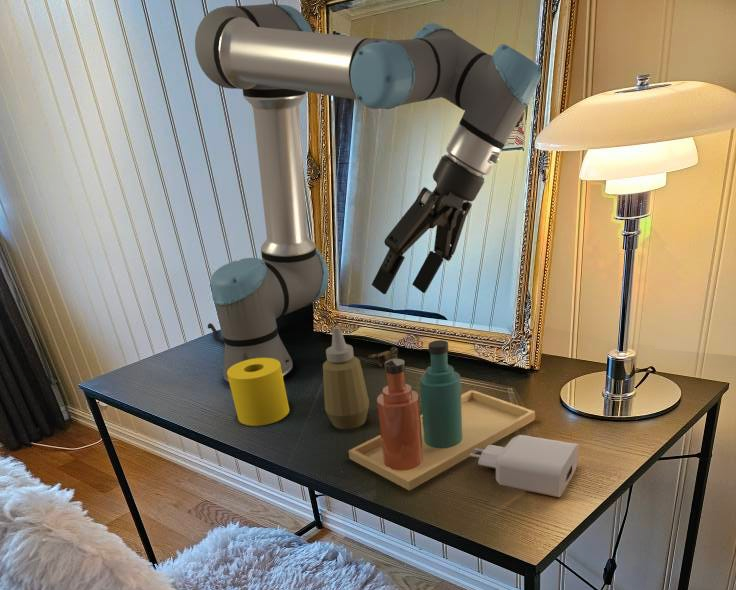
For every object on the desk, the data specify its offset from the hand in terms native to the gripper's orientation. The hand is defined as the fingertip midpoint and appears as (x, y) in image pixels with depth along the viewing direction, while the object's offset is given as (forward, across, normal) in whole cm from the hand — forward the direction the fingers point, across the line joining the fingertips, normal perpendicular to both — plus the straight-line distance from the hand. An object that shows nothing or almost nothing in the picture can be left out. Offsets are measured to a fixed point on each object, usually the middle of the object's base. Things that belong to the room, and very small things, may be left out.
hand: (399, 289), depth 110 cm
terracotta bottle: (+18, -12, -21) cm, 30 cm away
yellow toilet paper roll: (+34, -6, +10) cm, 36 cm away
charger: (+9, -9, -36) cm, 39 cm away
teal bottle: (+14, -4, -22) cm, 27 cm away
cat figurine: (+22, +21, +5) cm, 30 cm away
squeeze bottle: (+24, -4, -6) cm, 25 cm away
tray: (+14, -4, -22) cm, 27 cm away
